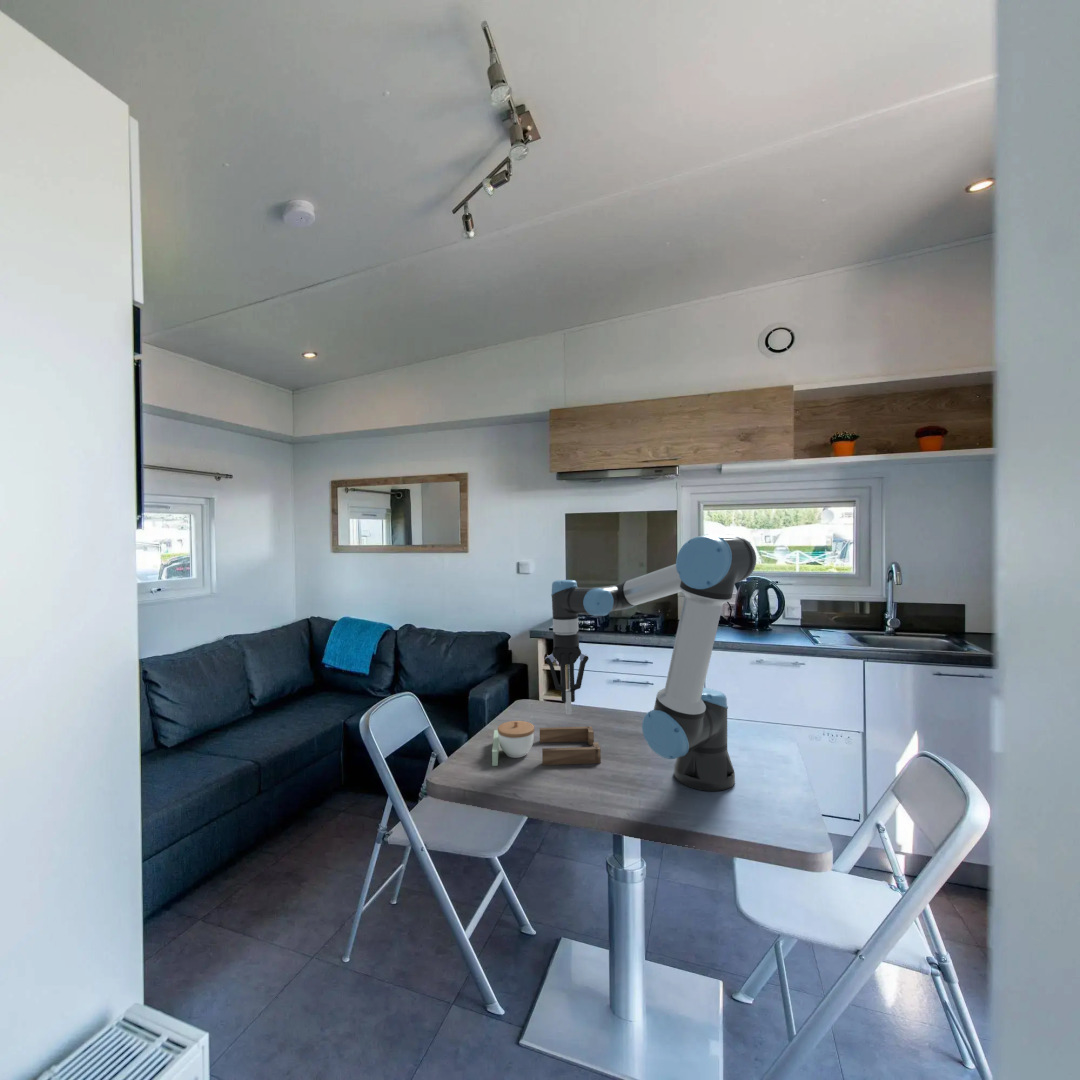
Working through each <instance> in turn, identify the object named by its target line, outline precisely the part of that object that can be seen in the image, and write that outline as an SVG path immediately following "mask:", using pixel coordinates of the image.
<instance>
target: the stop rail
mask: <svg viewBox="0 0 1080 1080" xmlns="http://www.w3.org/2000/svg"><path fill="white" fill-rule="evenodd" d="M491 749H492V750H491V757H492V758H491V761H492V762H491V763H492V764H491V766H492V767H497V766H498V765H499V755H500V754H499V752H500V744H499V739H498V729H494V730H493V740H492V748H491Z"/></svg>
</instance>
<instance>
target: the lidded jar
mask: <svg viewBox="0 0 1080 1080" xmlns="http://www.w3.org/2000/svg"><path fill="white" fill-rule="evenodd" d="M497 730H498V739H499V748H500V749H501V750H502V751H503V753H505V754H506V756H507V757H509V758H514V759H515V758H516V759H519V758H523V757H525V756H526V755H527V754H528V752H530V750H531V749H532V747H533V744H534V740H535V739H534V738H535V726H534V725H533V724H532V723H531V722H529V721H524V720H512V721H510V720H509V721H506V722H503V723H501V724H500V725H498V727H497Z"/></svg>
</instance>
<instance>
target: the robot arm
mask: <svg viewBox="0 0 1080 1080" xmlns="http://www.w3.org/2000/svg"><path fill="white" fill-rule="evenodd" d="M756 565H757V553H756V550H755V549H754V547H753V545H752V544H751V543H750V542H749V541H748V540H747V539H745V538H744V537H743V536H742V537H741V536H739V535H735V534H721V535H720V534H703V535H699V536H695V537H693V538H690V539H689V540H687V541H686V542H685V543H684V544H683V545H682V546H681V548H680V549H679V551H678V553H677V555H676V560H675V563H674V564H672V565H668V566H666V567H662V568H659V569H656V570H655V571H652V572H649V573H646V574H644V575H640V576H636V577H634V578H631V579H628V580H625V581H623V582H620V583H617V584H613V585H606V586H596V587H578V582H577V581H576V580H575V579H574V580H573V579H561V580H560V579H559V580H555V581H552V583H551V605H552V606H551V607H552V631H553V634H552V637H553V639H552V640H553V641H552V642H553V643H552V644H553V649H552V651H551V654H550V655H546V656H545V658H544V659H545V662H546V663H547V665H548V666H549V670H550V674H551V678H552V680H553V684H554V687H555V690H557V691H560V692H561V694H560V696H561V702H562V703H564V705H565V714H566V715H572V711H573V710H572V703H575V702H576V701H575V700H576V697H575V696H576V694H575V693H576V690H579V689H581V687H582V682H583V678H584V672H585V668H586V664H587V662H588V660H590V659H589V656H588V655H587V654H584V653H583V652H582V650H581V649H580V638H579V637H580V635H579V633H578V632H579V615H587V616H593V617H598V616H599V617H604V616H605V617H606V616H608V615H609V614H610V612H616V611H624V610H625V611H626V610H629V609H631V608H634V607H635V606H637V605H641V604H645V603H647V602H651V601H655V600H658V599H661V598H665V597H668V596H671V595H674V594H678V593H682V594H683V595H684V599H683V602H682V608H681V611H680V616H679V622H678V626H677V629H676V634H675V639H674V644H673V649H672V654H671V659H670V664H669V668H668V672H667V678H666V681H665V686H664V688H662V689H659V690H658V691H657V692H656V693H657V694H656V698H655V701H654V702H655V703H654V706H653V707H654V708H653V709H652V710H650V711H648V712H647V713H646V714H645V715H644V717H643V719H642V724H641V730H642V734H643V738H644V740H645V741H646V742H647V745H648V746H649V748H650V749H651V750H652V751H653V752H654V754H657V756H659V757H661V758H663V759H666V760H675V762H674V764H673V765H674V768H673V770H674V771H673V772H674V775H673V776H674V778H675V779H676V780H677V781H678V782H679V783H681V784H683V785H684V786H685V787H689V788H692V789H695V790H699V791H706V792H720V791H725V790H729V789H730V788H732V787H733V786H735V783H736V774H735V773H736V772H735V769H734V766H733V762H732V761H731V760H732V759H731V758H730V753H729V751H728V709H729V706H728V702H727V699H728V698H727V696H726V695H725V693H723V692H722V691H719V690H717V689H714V688H707V687H705V684H706V683H705V682H706V679H707V674H708V670H709V666H710V661H711V657H712V654H713V653H712V651H713V648H714V645H715V639H716V634H717V631H718V626H719V621H720V619H721V613H722V609H723V605H724V604H726V603H728V602H730V601H731V600H732V597H733V595H734V594H733V593H734V589H735V585H736V583H740V582H742V581H745V580H746V579H748V577H750V576H751V575H752V573H754V570H755V568H756ZM554 659H555V660H556V661H557V663H558V665H559V666H560V683H559V681H558V678H557V677H558V676H557V674H556V669H555V666H554V662H555V660H554ZM578 659H579V661H580V663H579V667H578V672H577V676H576V680H575V664H576V662H577V660H578ZM566 665H568V670H569V671H568V673H569V675H568V677H569V679H568V680H569V689H567V681H566V679H567V678H566ZM575 681H576V682H575Z"/></svg>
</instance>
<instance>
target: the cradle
mask: <svg viewBox="0 0 1080 1080" xmlns="http://www.w3.org/2000/svg"><path fill="white" fill-rule="evenodd" d="M594 733H595V732H594V730H593V727H592V726H589V725H588V726H562V727H560V726H559V727H557V726H556V727H539V743H540V744H541V743H545V744H546V743H571V742H573V743H574V742H578V743H579V742H587V744H588V746H583V747H582V746H581V747H580V746H579V747H578V746H577V747H549V748H548V747H546V748H543V747H542V751H541V753H542V754H541V757H542V758H541V759H542V761H541V762H542V763H541V764H542V766H550V765H551V766H552V765H553V766H554V765H555V766H556V765H557V766H558V765H559V766H560V765H578V764H579V765H584V764H587V765H589V764H601V761H602V760H601V759H602V756H601V755H602V754H601V751H602V750H601V747H600V744H599V742H595V740H594V739H595V737H594V736H595V734H594Z"/></svg>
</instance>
